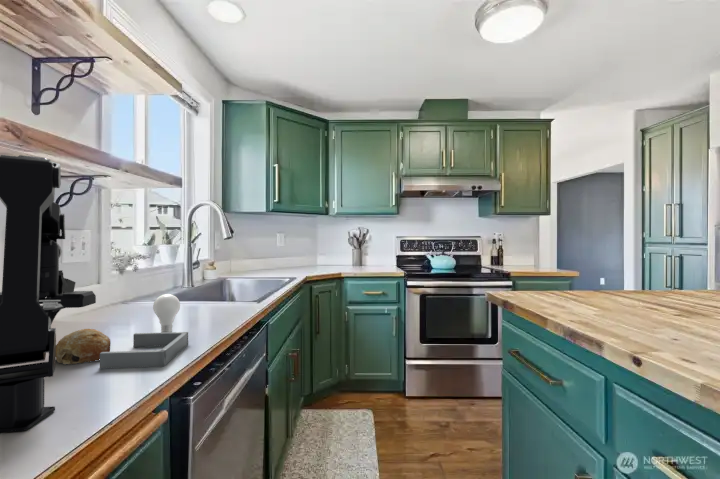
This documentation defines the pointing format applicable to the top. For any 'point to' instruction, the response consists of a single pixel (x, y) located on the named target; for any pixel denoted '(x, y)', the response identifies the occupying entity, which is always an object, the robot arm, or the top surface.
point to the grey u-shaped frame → (147, 358)
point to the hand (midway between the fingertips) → (41, 340)
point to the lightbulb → (166, 310)
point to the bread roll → (82, 346)
